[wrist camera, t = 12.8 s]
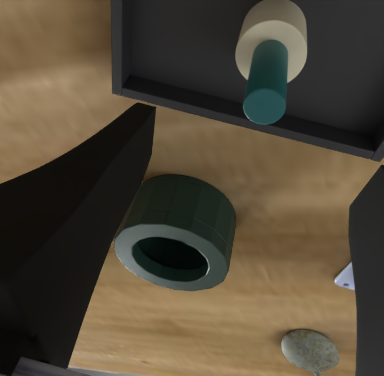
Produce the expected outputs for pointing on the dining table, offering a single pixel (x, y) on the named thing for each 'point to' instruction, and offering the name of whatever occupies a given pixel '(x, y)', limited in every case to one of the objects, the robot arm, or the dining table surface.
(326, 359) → the soupspoon
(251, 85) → the teal peg on base
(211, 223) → the jar
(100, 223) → the robot arm
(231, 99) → the tray
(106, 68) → the dining table surface
